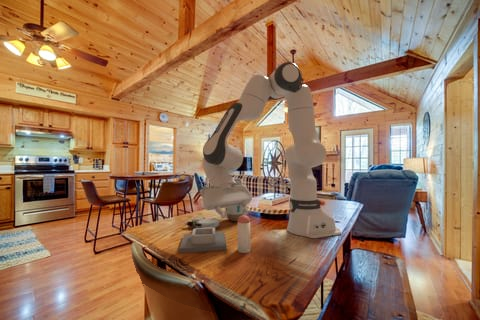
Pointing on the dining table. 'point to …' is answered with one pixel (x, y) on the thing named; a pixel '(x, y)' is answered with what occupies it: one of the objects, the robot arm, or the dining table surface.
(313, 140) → the robot arm
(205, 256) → the dining table surface
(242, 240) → the pink-topped post
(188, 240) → the jig
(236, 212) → the vase
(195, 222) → the robot toy
